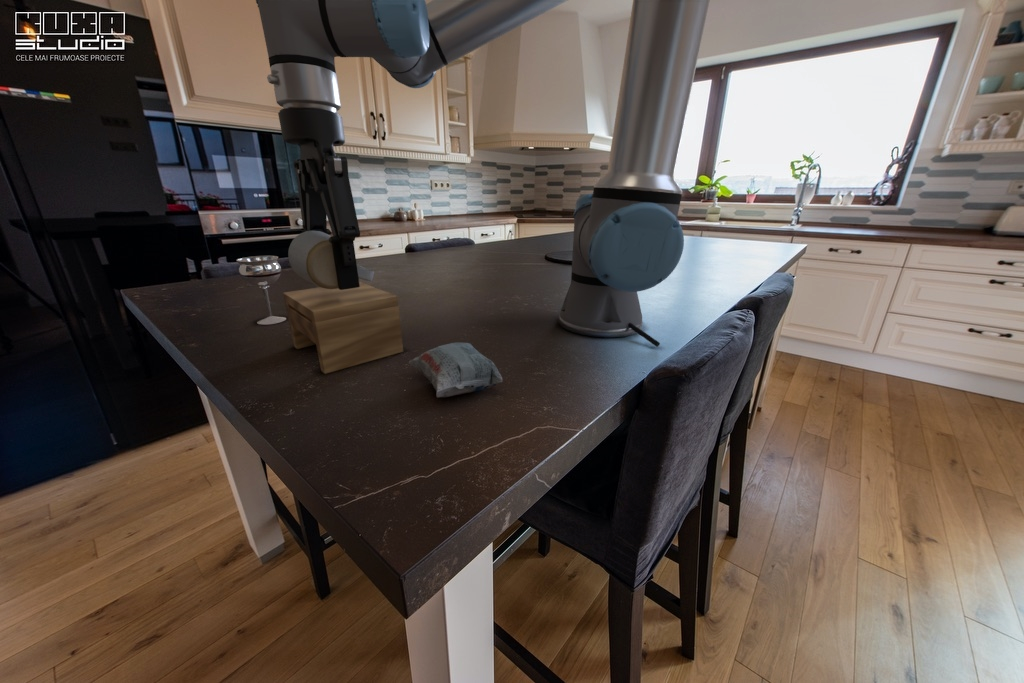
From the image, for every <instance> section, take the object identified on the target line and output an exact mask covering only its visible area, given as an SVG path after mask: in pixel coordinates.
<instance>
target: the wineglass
mask: <svg viewBox="0 0 1024 683" xmlns="http://www.w3.org/2000/svg"><path fill="white" fill-rule="evenodd" d="M278 260H279V256H277V255H255V256H254V255H253V256H247V257H242V258H237V259H236V262H237V263H238V264H239V266H238V273H239V275H240V277H241V279H242V280H244V282H247V283H248V284H249V285H252V286H255V287H258V288H259V289H260V290H262V293H263V297H264V300H265V303H266V304H265V305H266V307H267V311H268V314H269V316H267V317H264V318H262V319H259V320H257V322H256V323H257V324H258V325H274V324H278V323H283V322H285V321H287V317H285V316H280V315H279V316H276V315H273V314H272V308H271V302H270V297H269V291H268V289H269V288H270V286H271V285H273V284H274V283H276V282H277V281H278V280H279V278H280V277H281V274H282V270H283V269H282V267H281V265H280V263H278Z"/></svg>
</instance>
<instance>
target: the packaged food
mask: <svg viewBox="0 0 1024 683" xmlns="http://www.w3.org/2000/svg"><path fill="white" fill-rule="evenodd" d="M408 364H409V365H411V366H412V367H413V368H415V369H417V370H418V372H419V373H420V374H422V375H423V376H424V377H425V378H426V379H428V381H429V382H430V383H431V384H432V386H433V388H434V390H435V392H436V398H450V397H454V396H459V395H464V394H470V393H473V392H478V391H482V390H483V391H484V390H488V389H491V388H494V387H495V386H496V385H498V384H501V383H503V381H504V378H503V377H502V375H501V373H500V371H499V369H498V367H497V365H496V364H495V363H494V362H493V361H492V360H491V359H489V358H487V357H486V356H484V355H483V354H482V353H481V352H479V350H477V349H476V348H475V347H474V346H473V345H472V343H470V342H457V341H455V342H451V343H450V342H449V343H447V344H442V345H438V346H436V347H434V348H431V349H428V350H427V351H424V352H423V353H422V354H420V355H419V356H416V357H414V358H413V359H411V360H409V361H408Z"/></svg>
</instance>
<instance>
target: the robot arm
mask: <svg viewBox="0 0 1024 683" xmlns="http://www.w3.org/2000/svg"><path fill="white" fill-rule="evenodd" d="M568 1H569V0H430V1H428V2H427V3H426V0H255V3H256V4H257V8H258V12H259V17H260V20H261V21H260V22H261V27H262V31H263V36H264V42H265V46H266V51H267V57H268V63H269V68H270V74H267V76H266V79H267V82H268V83H269V84H270V85H273V91H274V96H275V101H276V104H277V105H278V106H280V107H281V109H280V110H279V112H277V116H278V120H279V126H280V132H281V136H282V139H283V141H284V142H285V143H286V144H289V145H297V146H298V147H299V155H300V157H299V160H294V161H293V163H292V166H293V168H294V172H295V178H296V184H297V185H296V186H297V193H298V198H299V209H300V215H301V216H300V217H301V224H302V230H304V231H303V232H306V231H320V232H324V233H326V234H328V235H330V236H331V235H332V236H331V237H330V238H329V239H328V240H329V242H330V243H332V249H333V255H334V262H335V268H336V274H337V280H338V287H339V289H340V290H345V289H351V288H357V287H360V285H359V282H360V279H359V278H358V271H357V265H358V263H356V261H357V257H356V251H355V243H354V241H356V238H359V237H361V231H360V226H359V222H358V221H359V220H358V215H357V211H356V206H355V201H354V196H353V191H352V187H351V182H350V177H349V165H348V159H347V157H346V156H342V155H337V154H336V151H335V148H334V147H341V146H344V145H345V143H346V138H345V130H344V122H343V117H342V116H341V114H339V113H338V111H340V110H341V108H342V105H341V97H340V90H339V83H338V74H337V70H336V65H335V64H336V63H335V62H336V61H335V58H336V57H337V58H338V57H339V58H372V59H373V60H374V61H375V62H376V63H378V64H379V65H380V67H382V68H383V69H384V70H386V71H387V72H388V74H389V75H390V76H391V78H393V79H394V80H395V81H396V82H398V83H400V84H401V85H404V86H406V87H407V88H411V89H422V88H424V87H426V86H427V85H429V84H430V83H431V82H432V81H433V79H434V77H435V75H436V72H438V71H439V70H440V69H443V68H444V67H446V66H448V65H449V64H452V63H453V62H455V61H457V60H459V59H461V58H463V57H465V56H466V55H468V54H470V53H472V52H474V51H476V50H477V49H479V48H481V47H483V46H485V45H487V44H489V43H491V42H493V41H494V40H496V39H498V38H500V37H503V36H504V35H506V34H508V33H510V32H512V31H513V30H515V29H517V28H519V27H522V26H523V25H525V24H526V23H528V22H530V21H532V20H534V19H536V18H538V17H539V16H541V15H544V14H545V13H547V12H549V11H551V10H553V9H555V8H557V7H559V6H560V5H562V4H564V3H567V2H568ZM709 5H710V0H632V6H631V12H630V18H629V27H628V33H627V39H626V45H625V53H624V59H623V64H622V72H621V77H620V78H621V79H620V85H619V92H618V99H617V107H616V112H615V119H614V126H613V130H612V131H613V132H612V139H611V145H610V151H609V158H608V165H607V172H606V173H605V174H604V176H602V177H601V178H600V179H599V180H598V181H597V182H595V184H593V190H592V193H586V194H583V195H581V196H579V197H578V198H577V199H576V200H575V201H576V202H575V208H574V212H573V216H572V217H573V221H574V222H573V224H574V225H573V238H572V239H573V240H572V255H571V256H572V257H571V275H570V285H569V287H568V290H567V293H566V295H565V298H564V300H563V303H562V306H561V308H560V311H559V317H558V318H559V320H558V323H559V325H560V326H561V327H562V328H563V329H565V330H567V331H569V332H571V333H574V334H578V335H582V336H587V337H595V338H621V337H627V336H632V335H635V334H637V335H639V336H640V337H642V338H644V339H645V340H647V341H648V342H649V343H651V344H652V345H653V346H654V347H656V348H658V347H659V346H660V345H661V342H659V341H658V340H657V339H655V338H654V337H653V336H651V335H649V334H648V333H647V332H645V331H644V330H642V328H643V313H642V308H641V304H640V298H639V294H638V292H642V291H643V292H644V291H647V290H649V289H652V288H655V287H656V286H657V285H659V284H661V283H662V282H663V281H665V280H666V279H667V278H668V277H670V275H671V274H673V272H674V271H675V269H676V268H677V266H678V265H679V263H680V261H681V258H682V256H683V252H684V246H685V237H684V232H683V231H684V230H683V228H682V225H681V224H680V223H681V222H680V221H679V220H678V215H679V210H680V206H681V202H682V196H683V189H681V187H680V186H679V184H678V182H677V181H676V180H675V170H676V165H677V162H678V156H679V151H680V146H681V141H682V137H683V132H684V127H685V122H686V119H687V118H686V117H687V114H688V113H687V112H688V107H689V103H690V98H691V94H692V89H693V83H694V79H695V75H696V74H695V73H696V68H697V64H698V59H699V54H700V49H701V44H702V40H703V35H704V31H705V30H704V29H705V26H706V20H707V16H708V11H709V7H710V6H709ZM327 224H329V227H330V229H329V228H328V227H327Z"/></svg>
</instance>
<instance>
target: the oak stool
mask: <svg viewBox="0 0 1024 683" xmlns="http://www.w3.org/2000/svg"><path fill="white" fill-rule="evenodd" d="M359 285H360V287H357V288H351V289H345V290H340V289H339V288H337V289H325V288H321V287H318V286H317V287H311V288H306V289H299V290H291V291H284V292H282V296H283V300H284V304H285V309H286V314H287V318H288V322H289V323H288V324H289V328H290V333H291V337H292V342H293V347H294V348H295V349H296V350H299V349H303V348H307V347H308V348H309V347H312V346H316V351H317V356H318V362H319V367H320V371H321V372H322V373H323V374H325V375H326V374H329V373H333V372H336V371H340V370H344V369H348V368H351V367H354V366H358V365H361V364H365V363H369V362H372V361H376V360H379V359H382V358H386V357H390V356H393V355H396V354H401V353H403V352H404V345H403V336H402V325H401V315H400V306H399V297H398V295H396V294H393V293H390V292H388V291H386V290H382V289H380V288H377V287H375V286H372V285H370V284H367V283H364V282H361V281H359Z"/></svg>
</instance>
